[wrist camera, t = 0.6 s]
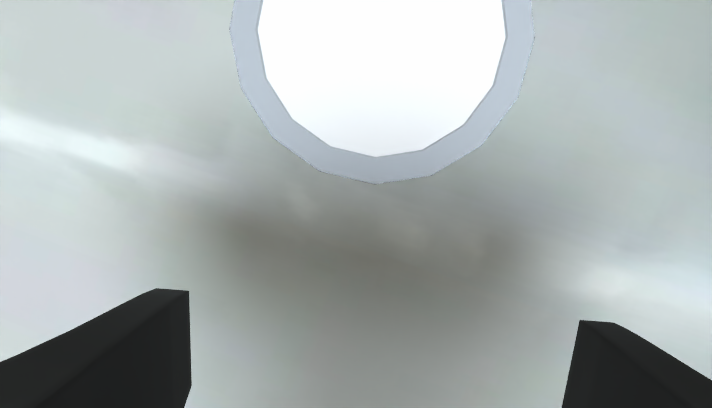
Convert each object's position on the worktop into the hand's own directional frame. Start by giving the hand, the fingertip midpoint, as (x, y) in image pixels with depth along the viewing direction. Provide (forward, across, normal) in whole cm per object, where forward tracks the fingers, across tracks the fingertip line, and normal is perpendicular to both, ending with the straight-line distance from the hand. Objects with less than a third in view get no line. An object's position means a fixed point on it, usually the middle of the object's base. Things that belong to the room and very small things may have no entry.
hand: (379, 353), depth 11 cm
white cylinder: (+11, 0, -5) cm, 12 cm away
